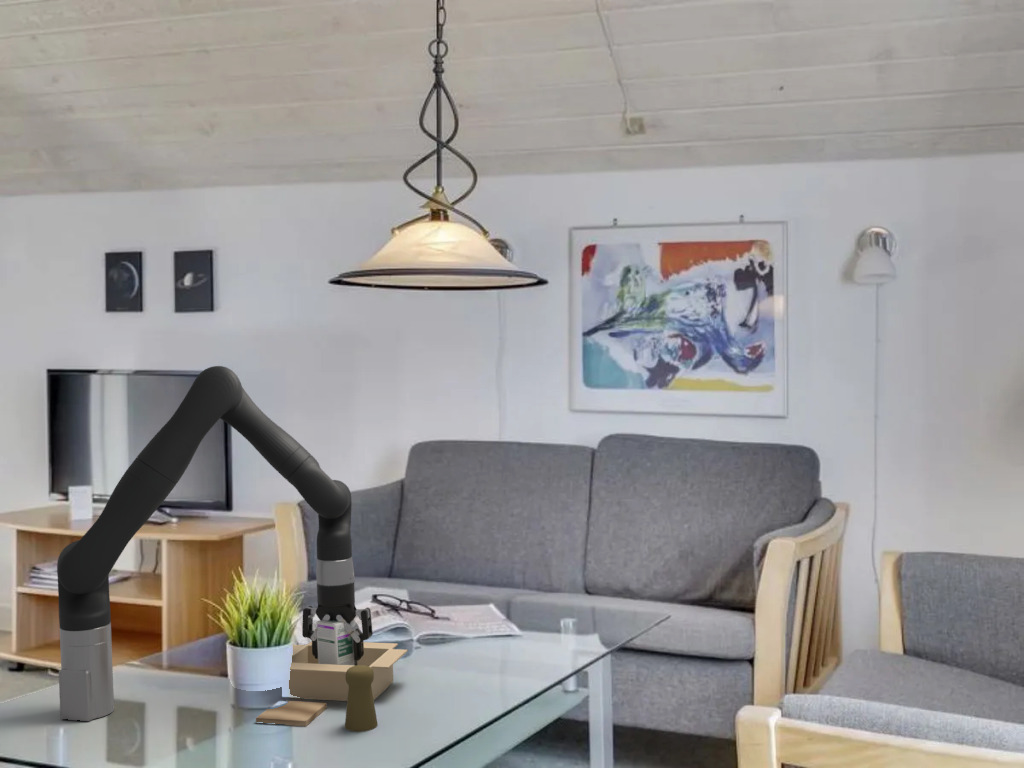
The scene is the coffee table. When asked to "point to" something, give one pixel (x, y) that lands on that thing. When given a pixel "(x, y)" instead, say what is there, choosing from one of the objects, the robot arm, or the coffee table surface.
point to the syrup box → (335, 643)
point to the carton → (340, 672)
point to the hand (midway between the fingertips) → (338, 658)
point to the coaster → (293, 713)
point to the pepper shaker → (360, 699)
